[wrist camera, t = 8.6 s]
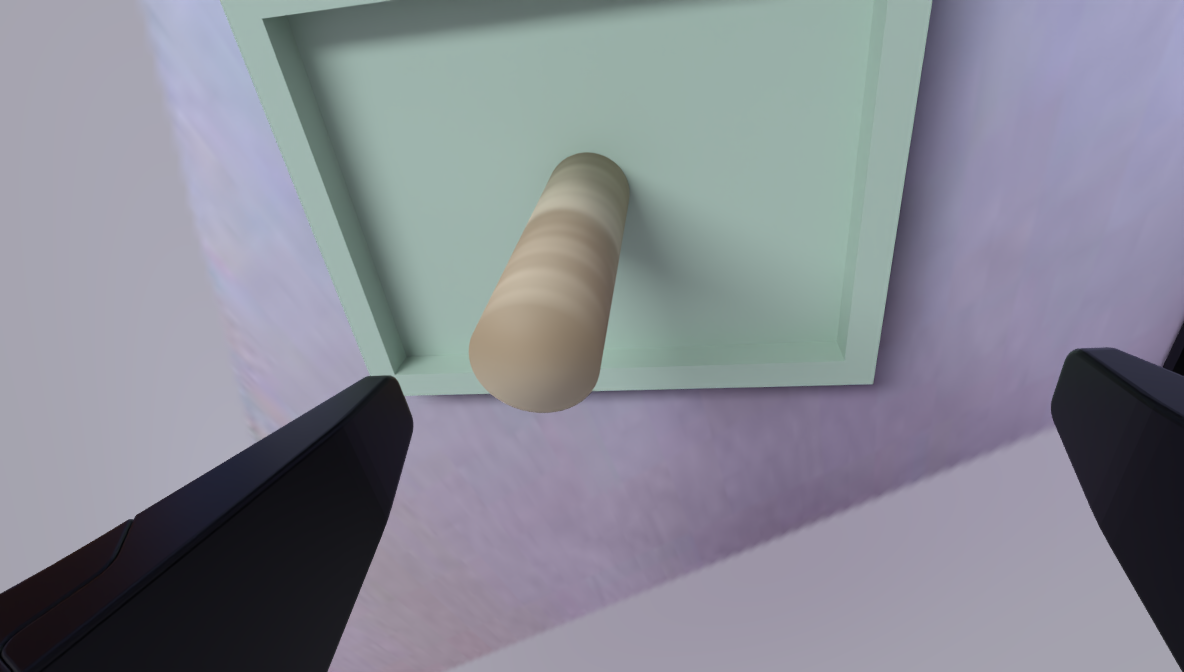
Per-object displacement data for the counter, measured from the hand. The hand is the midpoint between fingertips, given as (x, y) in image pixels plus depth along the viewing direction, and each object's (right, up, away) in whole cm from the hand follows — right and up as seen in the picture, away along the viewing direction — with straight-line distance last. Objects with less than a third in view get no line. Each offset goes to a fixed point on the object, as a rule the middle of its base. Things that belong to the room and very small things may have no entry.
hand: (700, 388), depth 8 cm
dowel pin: (-2, +5, +11) cm, 12 cm away
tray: (-2, +6, +11) cm, 13 cm away
